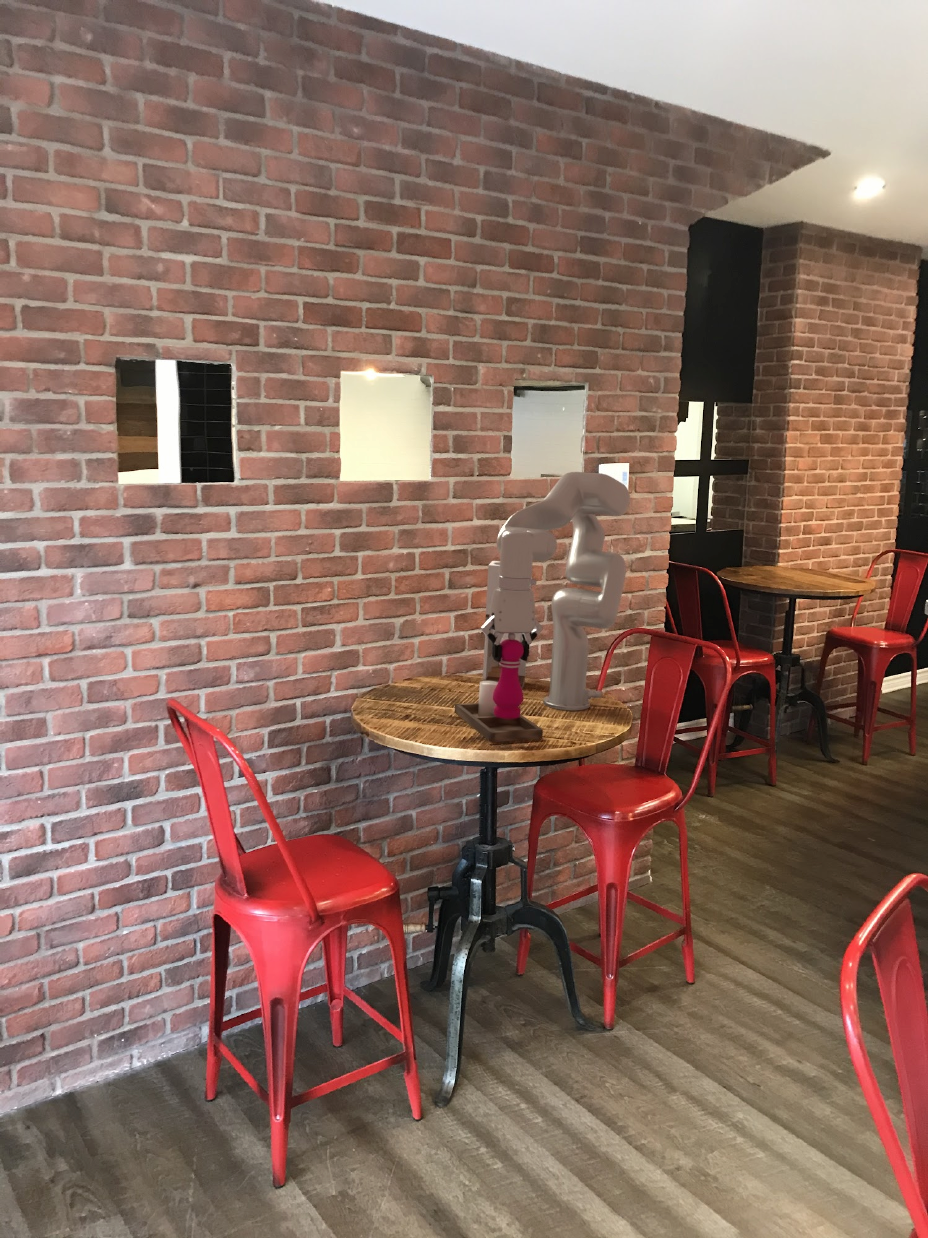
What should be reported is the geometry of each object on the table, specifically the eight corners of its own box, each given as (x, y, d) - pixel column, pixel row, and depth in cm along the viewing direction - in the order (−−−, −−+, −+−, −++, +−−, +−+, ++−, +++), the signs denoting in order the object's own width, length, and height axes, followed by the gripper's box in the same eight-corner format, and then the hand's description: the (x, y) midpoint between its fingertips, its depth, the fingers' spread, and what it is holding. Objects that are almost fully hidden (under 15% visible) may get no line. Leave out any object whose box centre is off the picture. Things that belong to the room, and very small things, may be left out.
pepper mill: (512, 721, 228) (517, 637, 224) (486, 715, 232) (490, 632, 228) (527, 715, 234) (532, 632, 231) (501, 709, 238) (506, 628, 234)
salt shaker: (493, 715, 248) (495, 680, 246) (500, 720, 243) (503, 685, 242) (474, 716, 246) (476, 681, 245) (482, 721, 242) (484, 686, 240)
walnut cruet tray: (502, 713, 253) (502, 701, 253) (542, 742, 230) (542, 729, 230) (454, 715, 249) (455, 704, 248) (490, 745, 226) (491, 732, 225)
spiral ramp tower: (481, 687, 278) (488, 565, 272) (486, 679, 289) (492, 560, 283) (521, 690, 277) (529, 567, 271) (524, 682, 287) (532, 563, 281)
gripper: (542, 581, 234) (537, 655, 237) (474, 581, 228) (470, 657, 231) (555, 586, 227) (550, 662, 230) (485, 586, 221) (481, 664, 224)
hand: (510, 659), depth 231 cm, fingers closed on pepper mill, 6 cm apart
